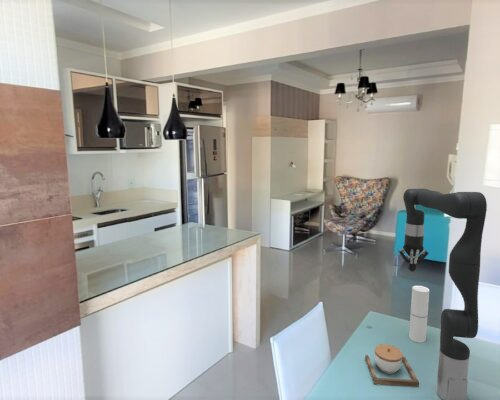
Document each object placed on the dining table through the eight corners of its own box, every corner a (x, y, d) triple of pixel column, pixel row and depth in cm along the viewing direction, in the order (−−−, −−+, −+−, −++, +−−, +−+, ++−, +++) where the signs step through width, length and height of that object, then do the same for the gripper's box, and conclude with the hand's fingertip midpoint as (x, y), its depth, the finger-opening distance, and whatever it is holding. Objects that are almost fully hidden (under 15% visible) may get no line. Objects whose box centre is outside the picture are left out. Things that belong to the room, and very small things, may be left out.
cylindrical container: (408, 340, 162) (411, 290, 158) (409, 332, 169) (412, 284, 165) (425, 344, 159) (429, 293, 155) (425, 336, 165) (429, 287, 161)
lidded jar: (368, 367, 143) (369, 346, 142) (383, 357, 150) (384, 337, 148) (392, 381, 135) (393, 359, 133) (406, 370, 141) (408, 349, 140)
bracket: (365, 359, 149) (365, 354, 148) (404, 361, 147) (404, 356, 147) (374, 384, 133) (374, 379, 133) (418, 386, 132) (419, 382, 131)
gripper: (401, 235, 149) (399, 273, 152) (433, 236, 148) (430, 274, 151) (396, 231, 156) (393, 267, 159) (426, 231, 155) (423, 268, 158)
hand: (411, 270), depth 155 cm, fingers closed
